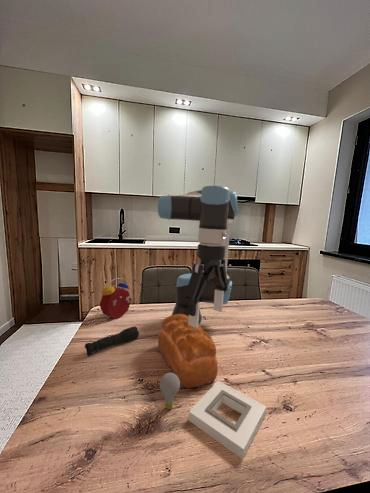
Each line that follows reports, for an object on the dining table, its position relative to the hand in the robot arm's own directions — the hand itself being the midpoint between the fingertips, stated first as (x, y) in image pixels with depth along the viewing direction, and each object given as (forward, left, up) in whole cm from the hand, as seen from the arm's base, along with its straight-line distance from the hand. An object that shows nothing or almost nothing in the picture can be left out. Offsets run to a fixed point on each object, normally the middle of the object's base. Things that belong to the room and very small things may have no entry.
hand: (206, 317), depth 66 cm
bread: (-13, +9, -24) cm, 29 cm away
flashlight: (-40, -2, -25) cm, 47 cm away
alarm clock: (-60, +14, -24) cm, 66 cm away
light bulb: (-4, -10, -24) cm, 27 cm away
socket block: (+10, -2, -24) cm, 26 cm away
